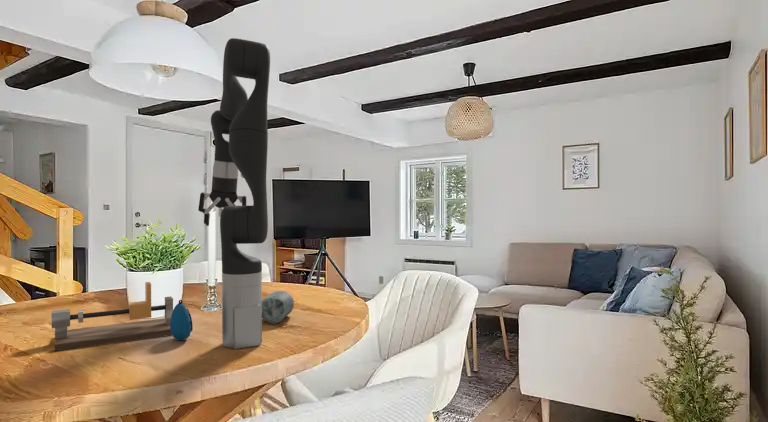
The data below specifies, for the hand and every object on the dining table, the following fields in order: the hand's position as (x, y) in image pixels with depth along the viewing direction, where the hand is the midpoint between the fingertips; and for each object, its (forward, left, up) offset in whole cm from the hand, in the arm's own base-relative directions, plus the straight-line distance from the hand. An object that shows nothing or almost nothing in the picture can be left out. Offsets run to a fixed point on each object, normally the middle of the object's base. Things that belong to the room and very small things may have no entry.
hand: (221, 226), depth 149 cm
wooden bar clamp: (-16, +30, -27) cm, 43 cm away
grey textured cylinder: (-22, -10, -27) cm, 36 cm away
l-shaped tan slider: (-16, +25, -23) cm, 37 cm away
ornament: (-29, +17, -27) cm, 43 cm away
